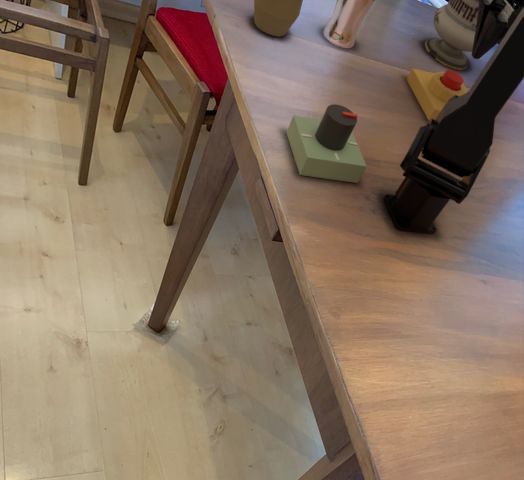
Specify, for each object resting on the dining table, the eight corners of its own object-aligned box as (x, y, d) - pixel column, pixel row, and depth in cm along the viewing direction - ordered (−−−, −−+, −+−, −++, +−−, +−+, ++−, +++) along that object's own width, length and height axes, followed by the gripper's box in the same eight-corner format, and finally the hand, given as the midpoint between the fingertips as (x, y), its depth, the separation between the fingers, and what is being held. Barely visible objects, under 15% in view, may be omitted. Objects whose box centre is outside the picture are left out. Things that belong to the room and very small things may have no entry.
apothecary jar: (408, 41, 112) (461, -59, 98) (440, 35, 119) (493, -59, 105) (452, 77, 109) (513, -21, 95) (481, 69, 116) (542, -24, 102)
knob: (319, 148, 75) (332, 120, 72) (312, 127, 77) (324, 99, 74) (348, 152, 77) (362, 125, 73) (340, 132, 79) (353, 105, 76)
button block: (470, 128, 99) (484, 108, 96) (428, 120, 96) (441, 99, 93) (446, 88, 105) (458, 68, 102) (406, 79, 102) (417, 58, 99)
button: (461, 93, 98) (467, 84, 96) (444, 89, 96) (450, 80, 95) (453, 81, 99) (459, 72, 98) (437, 77, 98) (442, 68, 97)
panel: (357, 183, 79) (367, 165, 76) (299, 175, 76) (308, 156, 73) (341, 142, 83) (350, 124, 81) (285, 133, 80) (293, 113, 78)
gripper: (624, -5, 72) (540, 103, 84) (558, -69, 82) (491, 36, 94) (560, -27, 68) (482, 89, 80) (499, -92, 78) (437, 21, 90)
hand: (474, 57), depth 86 cm, fingers closed
